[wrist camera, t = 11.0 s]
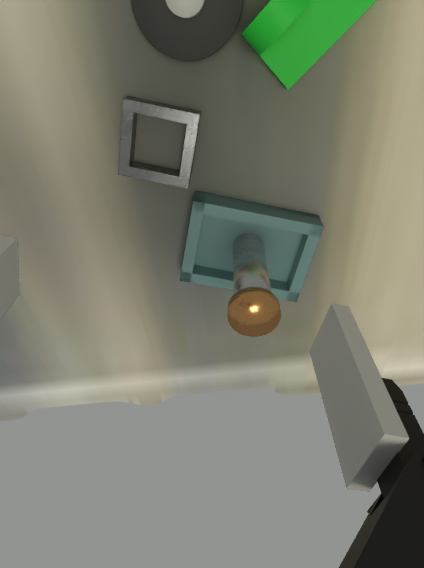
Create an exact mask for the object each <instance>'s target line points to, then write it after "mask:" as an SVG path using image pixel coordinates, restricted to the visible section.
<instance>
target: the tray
mask: <svg viewBox="0 0 424 568" xmlns="http://www.w3.org/2000/svg"><path fill="white" fill-rule="evenodd" d="M323 228H324V226H323V224H322V222H321V220H320V218H319V216H318V215H313V214H308V213H303V212H298V211H293V210H288V209H283V208H278V207H273V206H268V205H263V204H258V203H253V202H248V201H243V200H238V199H233V198H228V197H223V196H218V195H213V194H208V193H203V192H198V191H196V192H195V196H194V201H193V206H192V212H191V218H190V224H189V229H188V235H187V241H186V247H185V253H184V258H183V264H182V270H181V276H180V281H185V282H190V283H196V284H201V285H206V286H212V287H217V288H223V289H228V290H233V243H234V241H235V239H236V238H237V237H238V236H239V235H241V234H244V233H254V234H256V235H258V236H259V237H260V238H261V239H262V241H263V244H264V250H265V256H266V262H267V269H268V275H269V281H270V287H271V292H272V293H273V294H274V295H275V296H276V297H277V299H282V300H288V301H293V302H297V299H298V297H299V294H300V291H301V288H302V286H303V283H304V280H305V277H306V274H307V272H308V269H309V266H310V263H311V261H312V258H313V255H314V252H315V250H316V247H317V244H318V241H319V239H320V236H321V233H322V230H323Z"/></svg>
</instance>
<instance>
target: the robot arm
mask: <svg viewBox="0 0 424 568" xmlns="http://www.w3.org/2000/svg"><path fill="white" fill-rule="evenodd" d="M19 295H20V290H19V259H18V238H15V237H10V236H5V235H1V234H0V319H1V318H2V316H3V315H4V314H5V313H6V311H7V310H8V309H9V308H10V306H11V305H12V304H13V303H14V301H15V300H16V299H17V297H18V296H19ZM310 355H311V358H312V362H313V366H314V369H315V373H316V377H317V380H318V384H319V388H320V392H321V395H322V399H323V402H324V406H325V410H326V413H327V417H328V421H329V425H330V428H331V432H332V435H333V440H334V443H335V447H336V450H337V454H338V458H339V462H340V465H341V469H342V473H343V476H344V480H345V483H346V488H347V489H353V490H359V491H365V492H370V490H371V489H372V488H373V486H374V485H375V484H376V482H377V481H378V484H379V487H380V490H381V494H380V496H379V497H378V498H377V499H376V501H375V502H374V503H373V505H372V506H371V507H370V508H369V510H368V511H367V512H368V513H369V514H368V516H367V518H366V520H365V521H364V523H363V525H362V527H361V529H360V531H359V532H358V534H357V536H356V538H355V540H354V541H353V543H352V545H351V547H350V549H349V551H348V552H347V554H346V556H345V558H344V559H343V561H342V563H341V565H340V567H339V568H424V434H423V432H422V430H421V428H420V426H419V424H418V422H417V420H416V418H415V416H414V415H413V412H412V410H411V408H410V406H409V405H408V402H407V400H406V398H405V396H404V394H403V392H402V390H401V389H400V388H399V387H398V386H397V385H396V384H395V383H394V382H393V381H392V380H390V379H385V378H381V376H380V373H379V371H378V369H377V367H376V365H375V363H374V360H373V358H372V356H371V354H370V352H369V349H368V347H367V345H366V343H365V341H364V339H363V336H362V334H361V332H360V330H359V328H358V326H357V323H356V321H355V319H354V317H353V315H352V313H351V310H350V308H349V307H348V306H343V305H338V304H333V303H332V304H331V306H330V308H329V310H328V313H327V315H326V317H325V319H324V321H323V323H322V325H321V328H320V330H319V332H318V334H317V336H316V338H315V341H314V343H313V345H312V347H311V349H310Z"/></svg>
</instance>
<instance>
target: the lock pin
mask: <svg viewBox="0 0 424 568" xmlns="http://www.w3.org/2000/svg"><path fill="white" fill-rule="evenodd" d="M280 318H281V311H280V305H279V301H278V299H277V297H276V296H275V295H274V294H273V293H272V292H271V287H270V281H269V275H268V269H267V262H266V256H265V250H264V244H263V241H262V239H261V238H260V237H259V236H258V235H256V234H254V233H244V234H241V235H239V236H238V237H237V238H236V239H235V241H234V243H233V296H232V297H231V299H230V301H229V303H228V321H229V323H230V325H231V327H232V328H233V329H234V330H235V331H236V332H238V333H240V334H242V335H245V336H251V337H256V336H262V335H265V334H267V333H269V332H271V331H272V330H274V329H275V328H276V326H277V325H278V323H279V321H280Z"/></svg>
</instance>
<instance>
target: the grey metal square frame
mask: <svg viewBox="0 0 424 568" xmlns="http://www.w3.org/2000/svg"><path fill="white" fill-rule="evenodd" d="M137 114H142V115H147V116H152V117H156V118H161V119H166V120H171V121H176V122H180V123H185V124H187V128H186V135H185V142H184V148H183V155H182V162H181V168H180V171H179V170H174V169H169V168H164V167H159V166H154V165H149V164H144V163H139V162H134V161H133V158H134V147H135V135H136V123H137ZM200 115H201V111H197V110H192V109H187V108H183V107H178V106H173V105H168V104H164V103H159V102H154V101H149V100H145V99H140V98H135V97H131V96H127V97H125V98H124V99H123V109H122V124H121V139H120V154H119V168H118V175H123V176H128V177H133V178H138V179H143V180H148V181H153V182H158V183H163V184H168V185H173V186H178V187H183V188H188V186H189V182H190V176H191V170H192V164H193V158H194V152H195V146H196V140H197V133H198V127H199V121H200Z"/></svg>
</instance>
